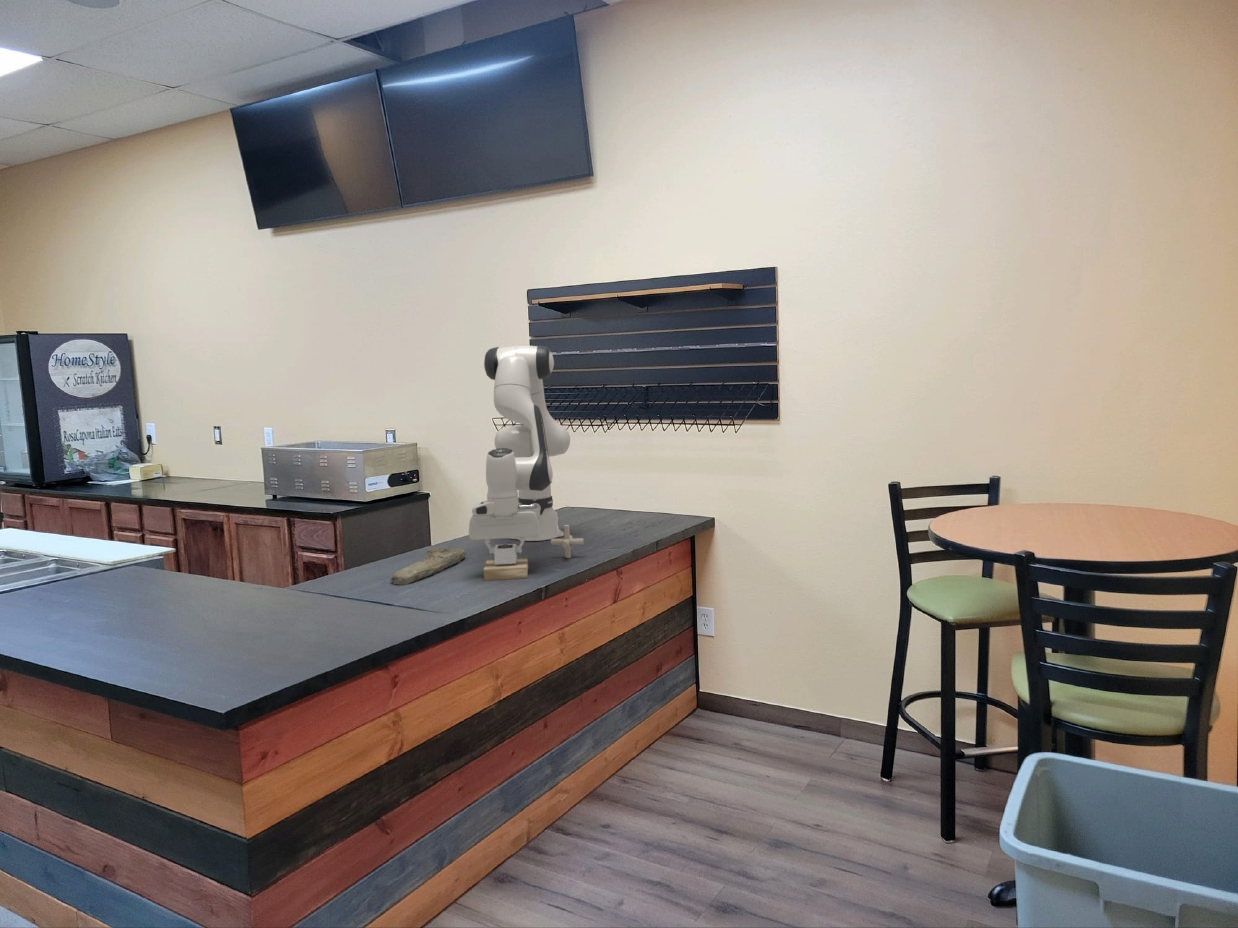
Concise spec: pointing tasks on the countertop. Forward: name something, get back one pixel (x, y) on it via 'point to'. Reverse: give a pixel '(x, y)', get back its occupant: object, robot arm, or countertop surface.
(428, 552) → the long grey stone
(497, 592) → the countertop surface
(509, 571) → the shaft stand
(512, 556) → the silver square ring
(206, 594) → the countertop surface
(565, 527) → the pipe connector
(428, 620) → the countertop surface
